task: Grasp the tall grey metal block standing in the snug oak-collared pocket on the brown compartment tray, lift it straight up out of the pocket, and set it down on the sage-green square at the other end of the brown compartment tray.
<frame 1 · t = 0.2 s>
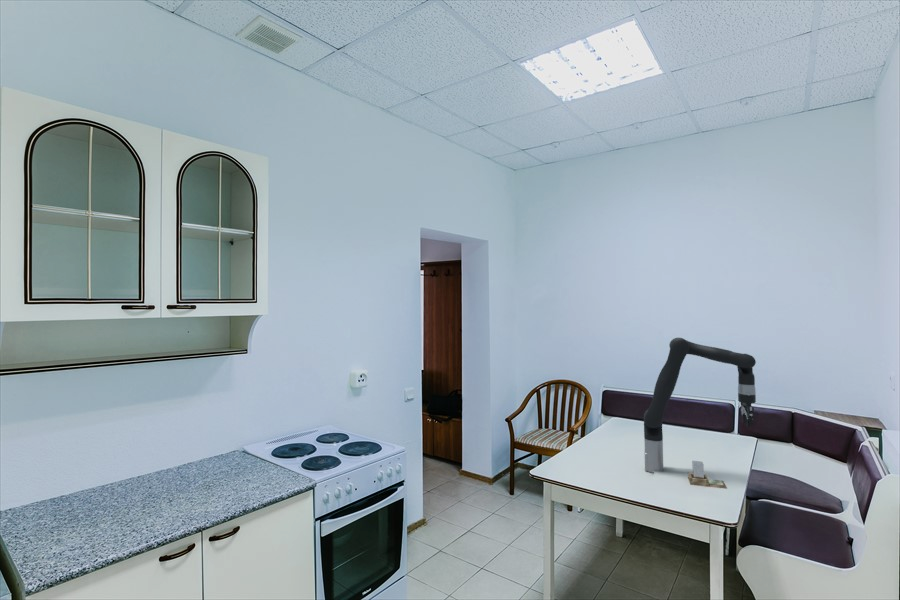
hand: (747, 424, 229), 29 cm above the table, fingers open, 8 cm apart
block: (698, 482, 224), point 1 cm above the table, touching brown compartment tray
brown compartment tray: (706, 484, 224), on the table
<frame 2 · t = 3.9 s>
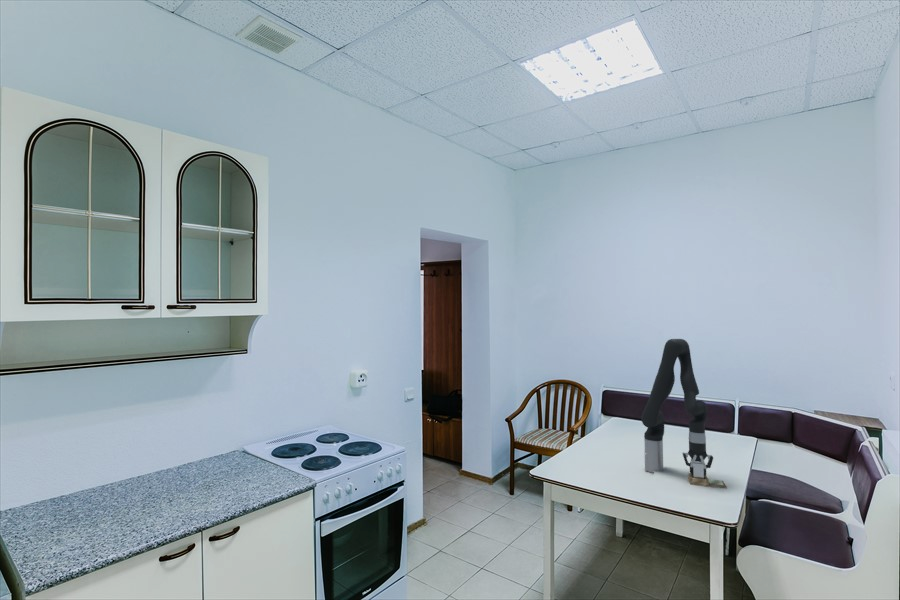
hand: (698, 474, 224), 5 cm above the table, fingers closed on block, 4 cm apart
block: (698, 482, 224), point 1 cm above the table, touching brown compartment tray, gripper
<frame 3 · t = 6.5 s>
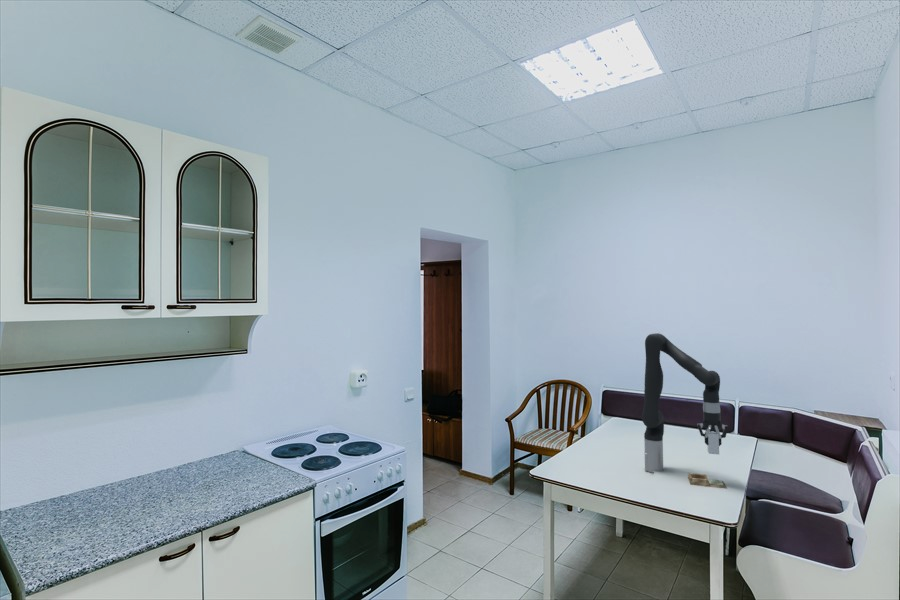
hand: (713, 445, 224), 20 cm above the table, fingers closed on block, 4 cm apart
block: (713, 452, 224), point 16 cm above the table, touching gripper
when the fingers open (6 cm above the table, at t = 9.5 s): block drops 1 cm, resting on brown compartment tray.
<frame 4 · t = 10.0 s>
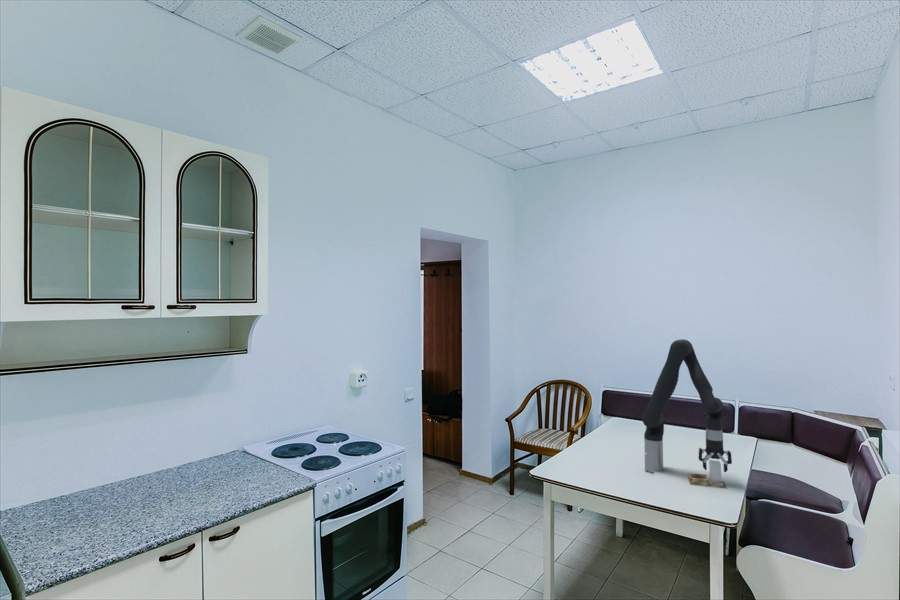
hand: (715, 470, 224), 7 cm above the table, fingers open, 8 cm apart
block: (715, 482, 224), point 1 cm above the table, touching brown compartment tray
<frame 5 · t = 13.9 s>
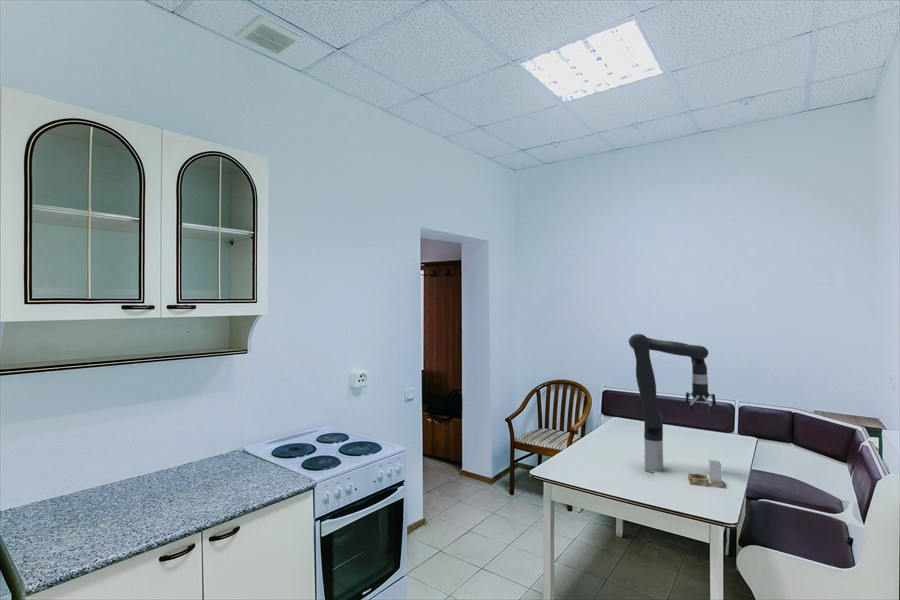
hand: (700, 412, 242), 32 cm above the table, fingers open, 8 cm apart
nothing on the table moved.
at the end: block 0.0 cm from the target spot, point 1.2 cm above the table; block tilted 0°; the gripper is holding nothing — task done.
